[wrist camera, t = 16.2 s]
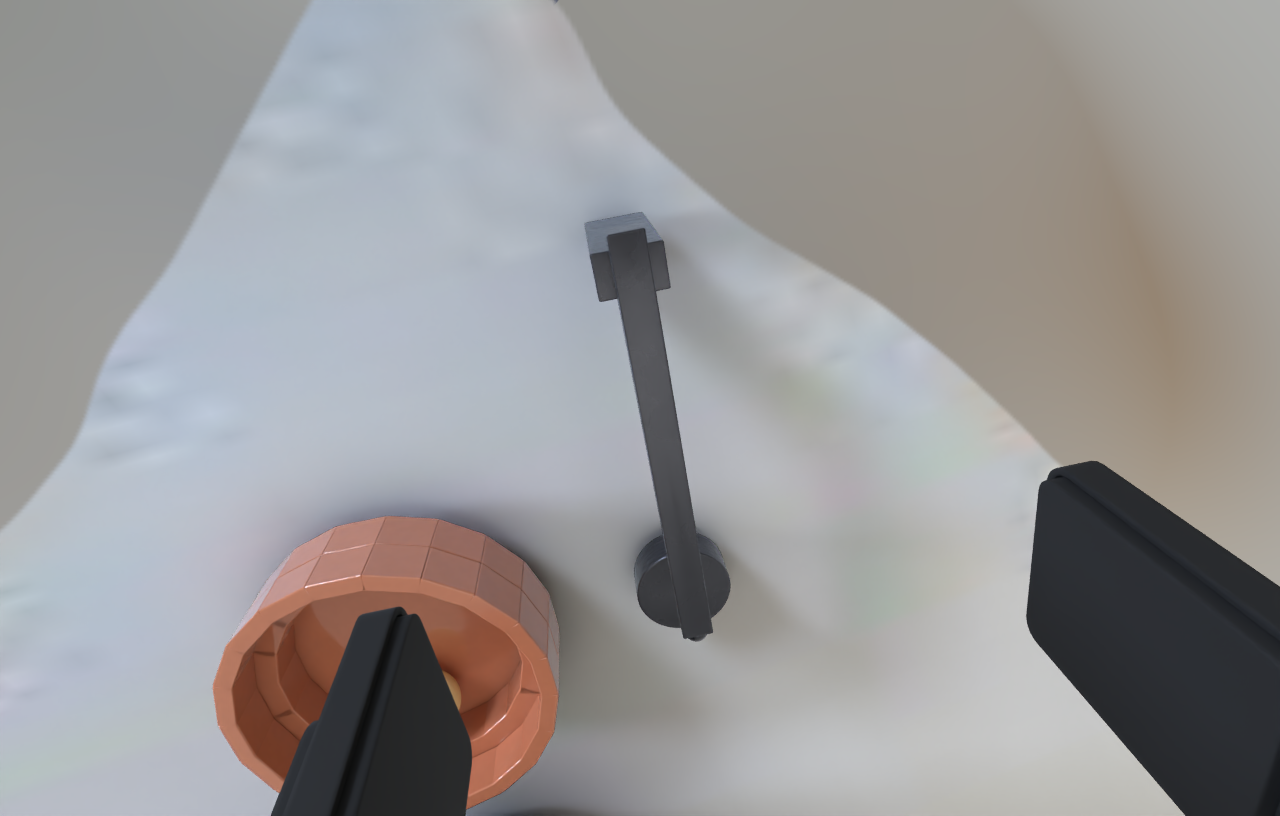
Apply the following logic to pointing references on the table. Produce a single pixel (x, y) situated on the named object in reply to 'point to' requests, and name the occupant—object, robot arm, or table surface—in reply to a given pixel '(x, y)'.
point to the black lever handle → (658, 431)
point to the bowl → (421, 584)
